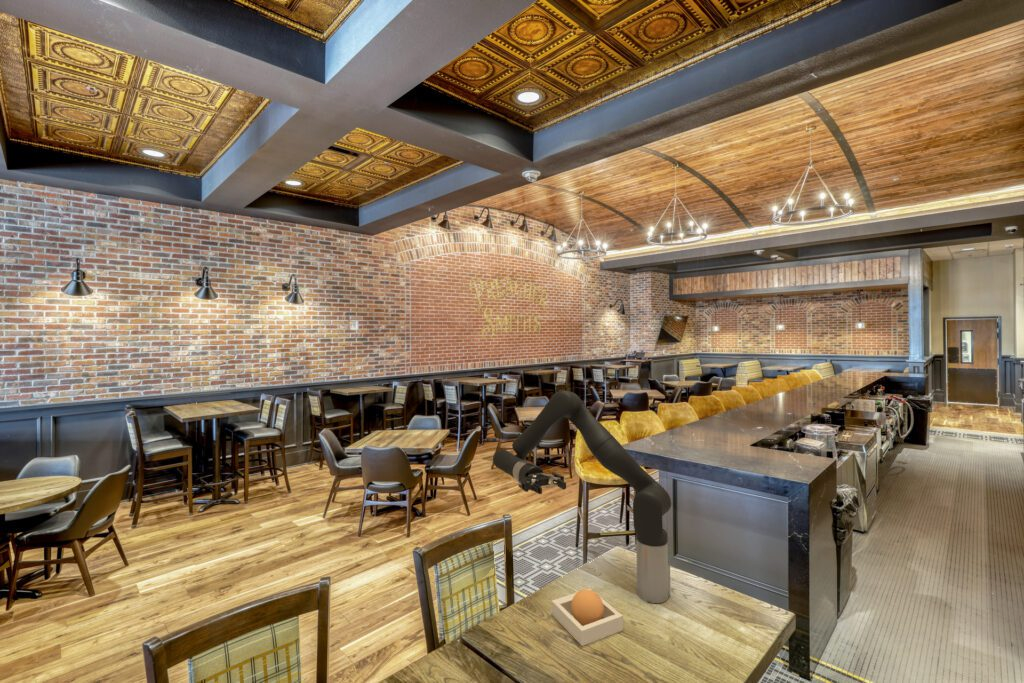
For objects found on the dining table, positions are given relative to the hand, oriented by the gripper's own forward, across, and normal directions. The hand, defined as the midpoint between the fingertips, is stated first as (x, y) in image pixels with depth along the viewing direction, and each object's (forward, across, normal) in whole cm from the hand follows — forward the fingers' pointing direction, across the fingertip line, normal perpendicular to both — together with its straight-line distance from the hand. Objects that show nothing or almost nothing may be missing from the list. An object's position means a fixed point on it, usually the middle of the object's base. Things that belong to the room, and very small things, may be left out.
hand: (553, 488), depth 137 cm
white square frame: (+14, +2, +34) cm, 37 cm away
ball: (+14, +2, +30) cm, 33 cm away
